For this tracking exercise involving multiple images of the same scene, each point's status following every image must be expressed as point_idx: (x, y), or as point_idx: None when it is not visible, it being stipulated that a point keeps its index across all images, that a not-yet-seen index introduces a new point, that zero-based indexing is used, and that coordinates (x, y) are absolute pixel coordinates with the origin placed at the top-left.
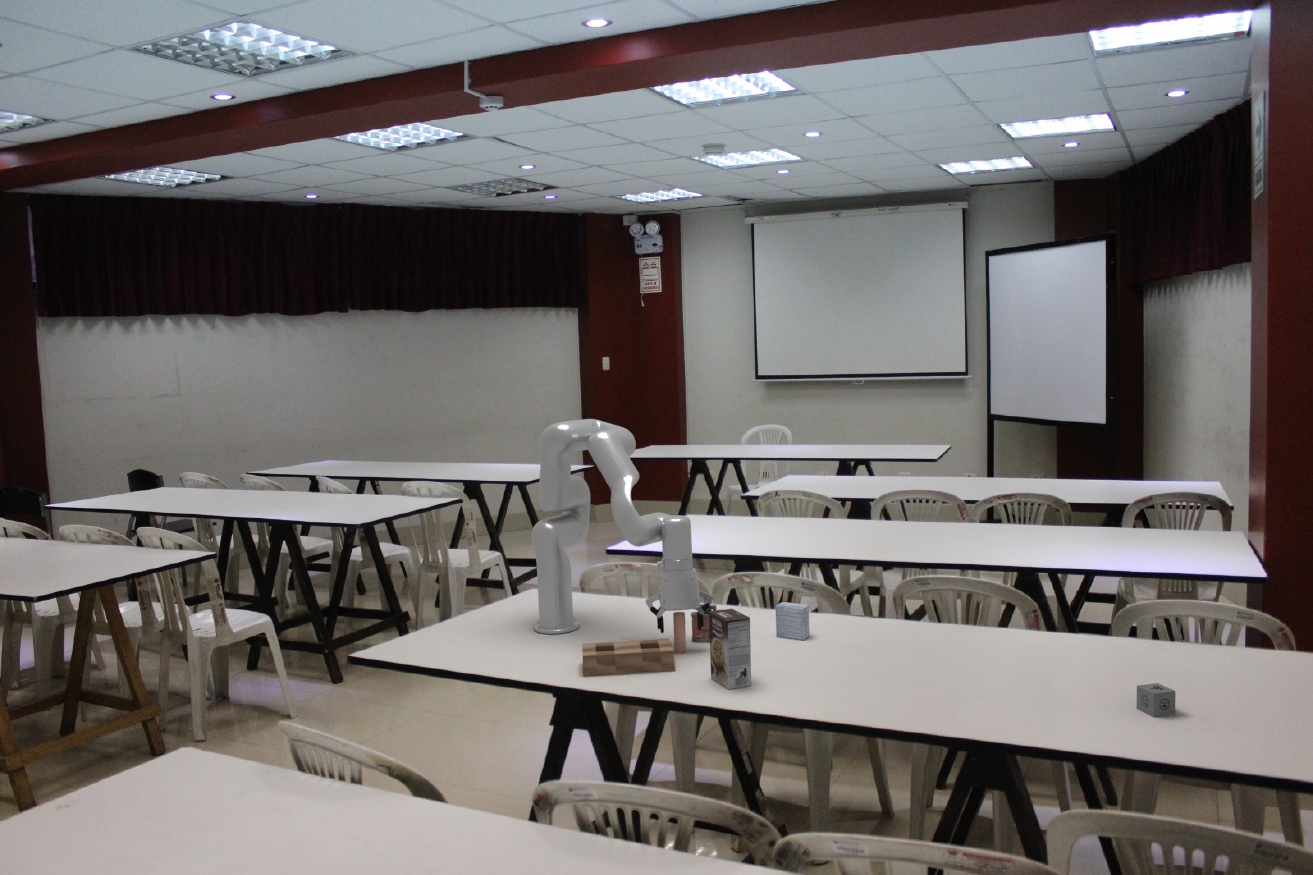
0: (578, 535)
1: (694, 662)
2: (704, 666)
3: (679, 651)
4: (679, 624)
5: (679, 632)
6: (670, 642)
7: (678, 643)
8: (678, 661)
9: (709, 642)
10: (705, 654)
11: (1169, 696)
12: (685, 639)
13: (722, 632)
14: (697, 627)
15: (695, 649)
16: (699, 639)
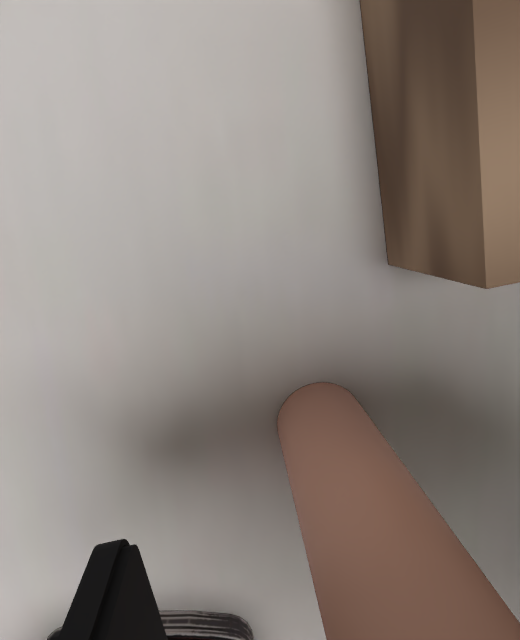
0: None
1: (188, 154)
2: (84, 30)
3: (326, 388)
4: (420, 566)
5: (376, 482)
6: (489, 109)
7: (351, 417)
8: (323, 183)
9: None
10: (121, 363)
11: None
12: (292, 474)
13: None
14: (164, 636)
15: (211, 473)
16: (195, 632)
